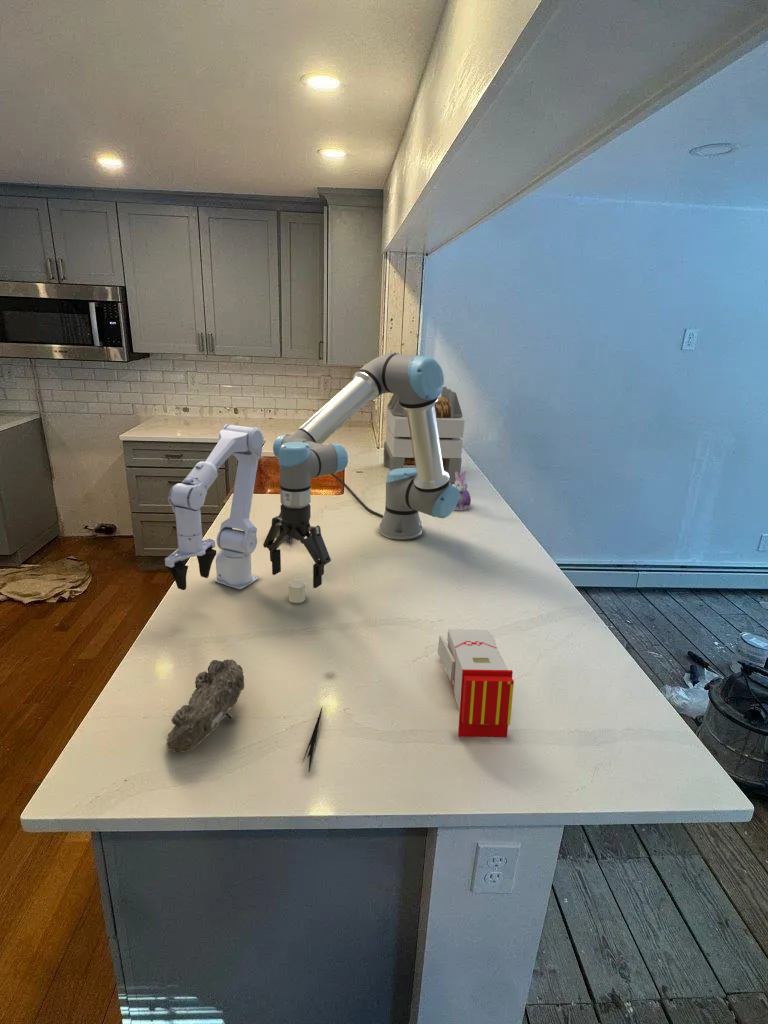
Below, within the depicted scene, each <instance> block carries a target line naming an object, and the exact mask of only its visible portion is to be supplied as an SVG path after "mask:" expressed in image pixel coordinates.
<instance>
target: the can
mask: <svg viewBox="0 0 768 1024" xmlns="http://www.w3.org/2000/svg"><path fill="white" fill-rule="evenodd" d="M305 600H306V583H305V582H304V581H302V580H293V581H291V582H289V583H288V601H289V602H290V603H291V604H301V603H303V602H304V601H305Z"/></svg>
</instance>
